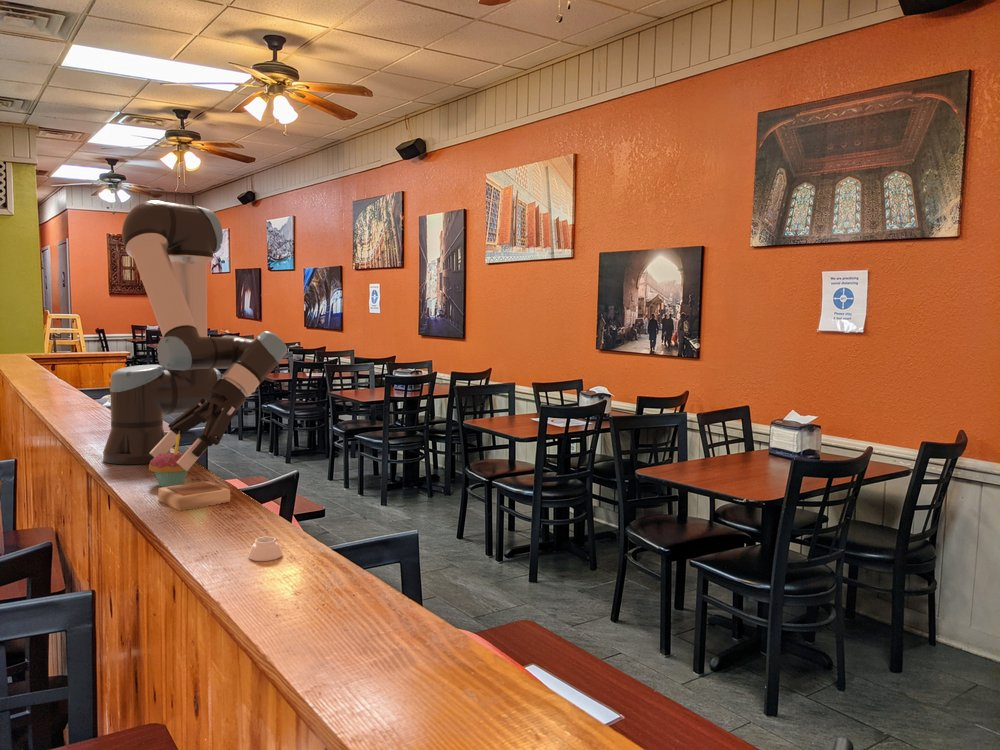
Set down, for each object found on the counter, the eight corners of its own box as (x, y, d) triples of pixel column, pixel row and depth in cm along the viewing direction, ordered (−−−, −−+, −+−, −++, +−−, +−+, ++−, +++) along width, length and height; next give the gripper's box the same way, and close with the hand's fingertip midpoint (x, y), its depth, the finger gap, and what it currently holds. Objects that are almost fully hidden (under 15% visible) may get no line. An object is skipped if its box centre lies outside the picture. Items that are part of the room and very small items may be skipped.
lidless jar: (254, 552, 116) (243, 562, 111) (255, 534, 116) (243, 543, 111) (286, 553, 116) (276, 563, 111) (286, 535, 116) (276, 545, 111)
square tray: (158, 500, 144) (158, 487, 144) (207, 492, 151) (207, 480, 151) (179, 510, 137) (179, 496, 137) (230, 502, 144) (230, 488, 144)
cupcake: (199, 482, 160) (199, 428, 159) (179, 491, 152) (179, 434, 151) (162, 479, 161) (162, 426, 160) (140, 488, 153) (140, 432, 152)
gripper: (273, 404, 159) (206, 482, 149) (219, 394, 175) (156, 463, 166) (250, 381, 154) (180, 459, 144) (197, 373, 171) (131, 442, 161)
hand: (167, 461), depth 155 cm, fingers open, 13 cm apart
